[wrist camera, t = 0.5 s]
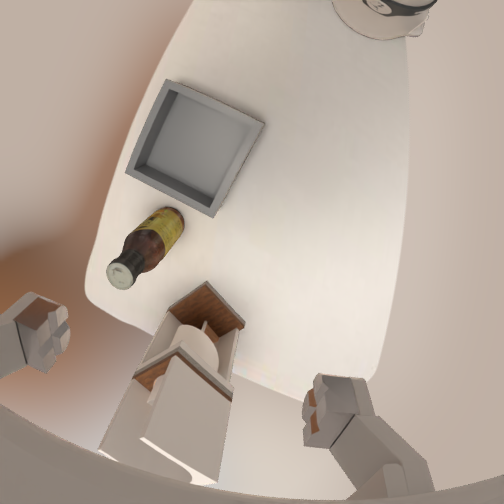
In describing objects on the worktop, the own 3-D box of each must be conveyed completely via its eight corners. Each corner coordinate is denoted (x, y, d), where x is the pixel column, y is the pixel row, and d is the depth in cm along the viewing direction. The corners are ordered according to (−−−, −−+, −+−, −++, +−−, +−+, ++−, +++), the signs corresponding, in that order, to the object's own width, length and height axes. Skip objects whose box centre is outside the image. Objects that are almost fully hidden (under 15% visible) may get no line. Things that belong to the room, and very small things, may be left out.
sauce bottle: (165, 198, 54) (112, 240, 36) (192, 221, 55) (152, 272, 37) (145, 225, 56) (91, 275, 38) (172, 247, 57) (128, 305, 39)
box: (178, 82, 46) (166, 78, 40) (265, 123, 48) (263, 123, 42) (139, 166, 52) (124, 172, 46) (219, 207, 54) (213, 218, 48)
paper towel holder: (245, 321, 63) (217, 482, 30) (206, 344, 66) (163, 490, 34) (206, 280, 60) (143, 437, 27) (169, 307, 63) (97, 449, 31)
